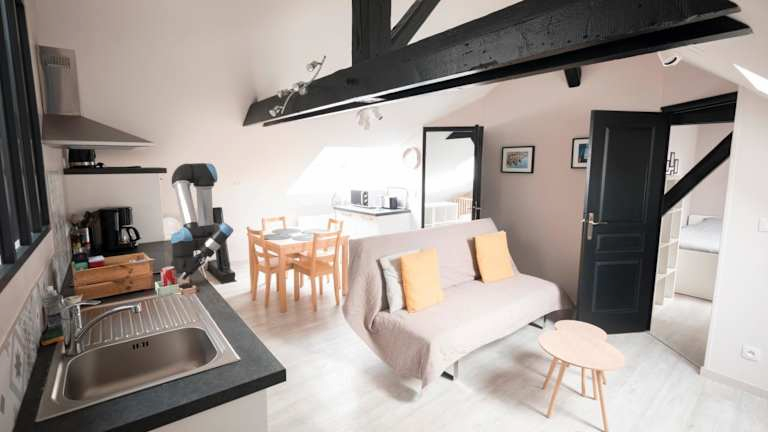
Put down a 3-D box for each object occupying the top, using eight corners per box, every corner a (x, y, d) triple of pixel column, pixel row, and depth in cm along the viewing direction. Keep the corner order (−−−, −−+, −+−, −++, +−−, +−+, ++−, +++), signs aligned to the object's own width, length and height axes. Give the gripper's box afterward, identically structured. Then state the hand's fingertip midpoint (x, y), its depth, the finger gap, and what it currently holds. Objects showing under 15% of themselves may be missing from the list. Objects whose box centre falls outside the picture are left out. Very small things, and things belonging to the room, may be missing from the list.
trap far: (188, 280, 213) (187, 276, 213) (189, 282, 210) (189, 278, 209) (174, 283, 209) (173, 278, 209) (175, 285, 206) (175, 280, 205)
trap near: (195, 289, 199) (194, 285, 198) (196, 292, 195) (196, 287, 195) (180, 292, 195) (179, 288, 194) (181, 295, 191) (181, 290, 191)
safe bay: (175, 285, 205) (175, 278, 204) (179, 292, 195) (179, 284, 195) (155, 289, 199) (154, 282, 199) (158, 296, 190) (157, 288, 189)
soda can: (173, 292, 195) (171, 269, 193) (159, 292, 195) (157, 269, 193) (180, 287, 202) (178, 265, 200) (167, 287, 202) (165, 265, 200)
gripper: (218, 254, 204) (186, 290, 196) (212, 249, 214) (181, 284, 207) (206, 246, 200) (174, 283, 192) (201, 241, 210) (169, 276, 203)
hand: (178, 283), depth 199 cm, fingers closed
